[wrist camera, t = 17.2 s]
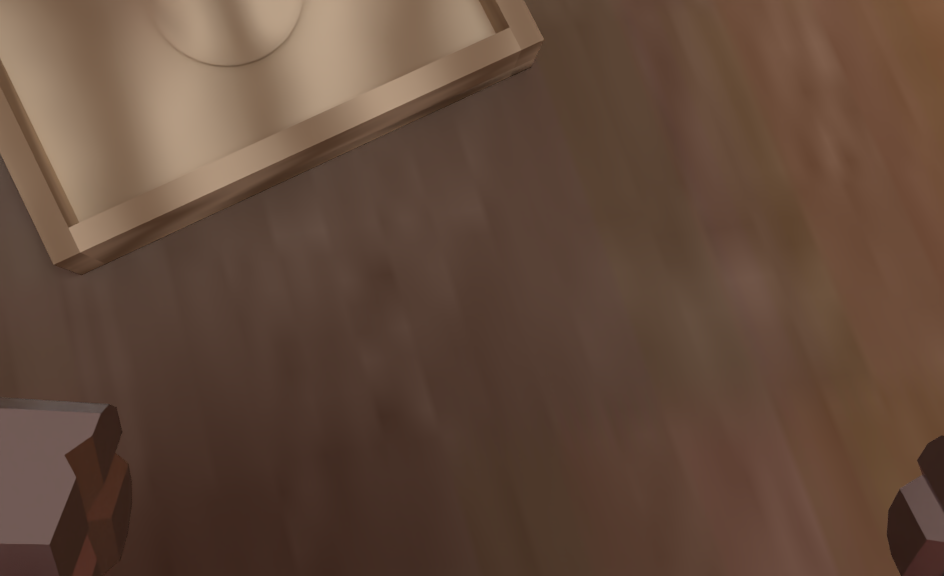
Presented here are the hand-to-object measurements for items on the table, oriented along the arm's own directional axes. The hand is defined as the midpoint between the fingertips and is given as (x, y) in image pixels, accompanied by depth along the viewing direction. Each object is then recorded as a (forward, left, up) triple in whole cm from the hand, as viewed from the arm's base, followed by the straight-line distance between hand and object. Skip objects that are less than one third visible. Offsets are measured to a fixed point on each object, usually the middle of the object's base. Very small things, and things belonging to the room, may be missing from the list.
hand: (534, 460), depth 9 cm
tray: (0, +19, -27) cm, 33 cm away
